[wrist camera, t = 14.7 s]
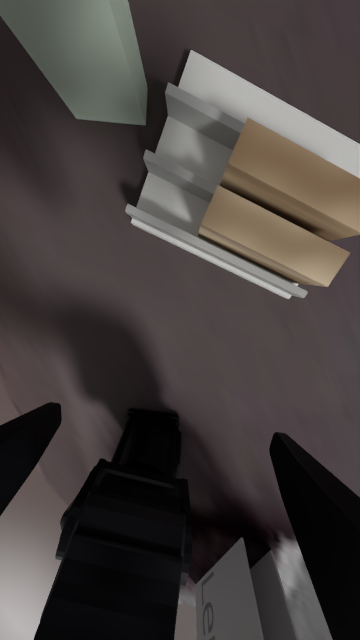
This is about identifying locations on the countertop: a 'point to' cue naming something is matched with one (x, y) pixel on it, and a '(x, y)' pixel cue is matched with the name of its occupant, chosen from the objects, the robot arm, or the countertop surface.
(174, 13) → the countertop surface
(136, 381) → the countertop surface
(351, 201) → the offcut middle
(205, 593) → the white cardboard box
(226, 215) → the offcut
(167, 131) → the rack
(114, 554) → the robot arm
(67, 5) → the sage green block
